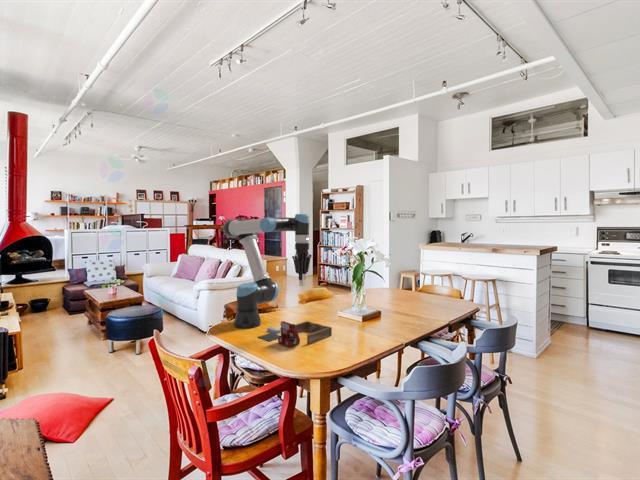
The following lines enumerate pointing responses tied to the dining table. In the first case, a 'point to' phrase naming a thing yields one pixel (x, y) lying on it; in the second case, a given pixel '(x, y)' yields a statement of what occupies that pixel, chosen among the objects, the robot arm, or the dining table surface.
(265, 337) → the black hole patch
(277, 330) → the slate-blue stick
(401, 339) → the dining table surface
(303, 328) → the walnut cubby
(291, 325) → the toy fire truck
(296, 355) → the dining table surface
